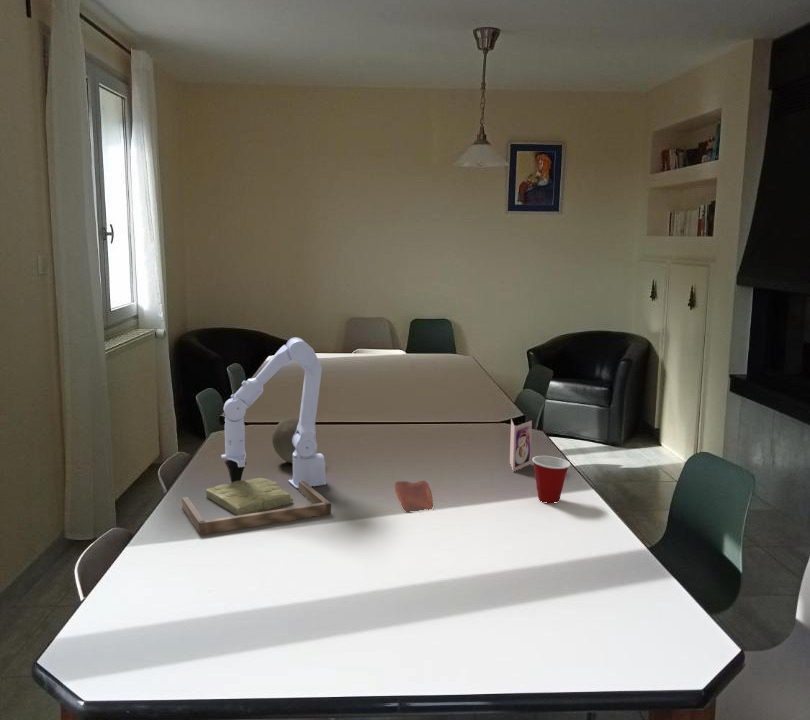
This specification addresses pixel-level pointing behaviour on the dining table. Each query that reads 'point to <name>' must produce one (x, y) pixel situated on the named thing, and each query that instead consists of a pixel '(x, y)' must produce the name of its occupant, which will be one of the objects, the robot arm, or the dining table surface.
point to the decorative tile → (249, 496)
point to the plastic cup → (550, 477)
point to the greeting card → (520, 445)
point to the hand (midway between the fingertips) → (235, 484)
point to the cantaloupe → (285, 439)
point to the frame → (259, 514)
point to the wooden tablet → (414, 495)
